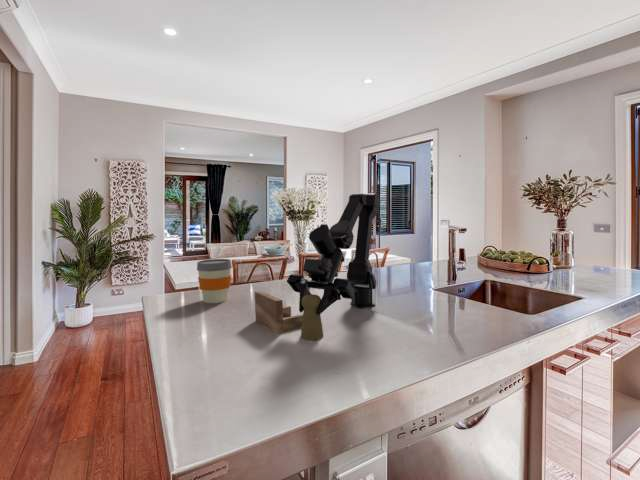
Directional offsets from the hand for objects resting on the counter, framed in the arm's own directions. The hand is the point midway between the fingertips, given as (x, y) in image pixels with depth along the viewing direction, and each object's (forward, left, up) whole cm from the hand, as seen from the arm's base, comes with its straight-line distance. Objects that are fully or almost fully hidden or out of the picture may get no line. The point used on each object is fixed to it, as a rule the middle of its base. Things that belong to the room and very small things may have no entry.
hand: (308, 313), depth 89 cm
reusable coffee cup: (+18, -52, -7) cm, 55 cm away
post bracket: (+2, -15, -7) cm, 16 cm away
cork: (-1, -1, -7) cm, 7 cm away
